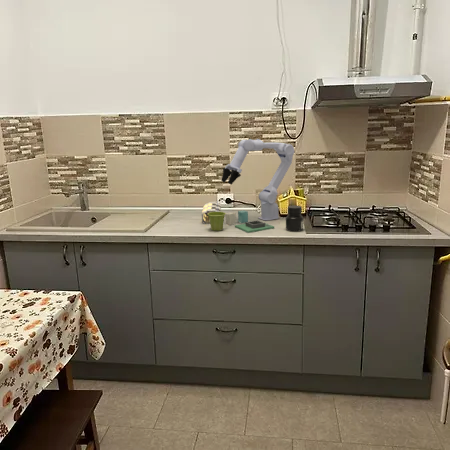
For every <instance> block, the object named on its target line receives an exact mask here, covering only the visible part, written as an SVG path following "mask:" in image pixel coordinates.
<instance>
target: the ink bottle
mask: <svg viewBox="0 0 450 450" xmlns="http://www.w3.org/2000/svg"><path fill="white" fill-rule="evenodd" d="M285 230H286V231H288V232H301V231H303V230H304V216H303V215H302V206H301V205H289V206H288V207H287V216H285Z"/></svg>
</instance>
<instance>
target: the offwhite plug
mask: <svg viewBox="0 0 450 450" xmlns="http://www.w3.org/2000/svg"><path fill="white" fill-rule="evenodd" d="M225 213H226V214H225V217H224V221H225V225H229V226H232V225H237V219H236V218H237V217H236V216H237V215H236V212H232V211H230V212H225Z"/></svg>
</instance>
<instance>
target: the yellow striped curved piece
mask: <svg viewBox="0 0 450 450" xmlns="http://www.w3.org/2000/svg"><path fill="white" fill-rule="evenodd" d="M201 212H202V213H201V222H202V223H203V225H205V223H206V219H207V216H208V213H210V212H222V204H221V203H219V200H218V199H217V201H209V202H208V203H205V204H204V205H203V208H202V211H201Z"/></svg>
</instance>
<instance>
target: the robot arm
mask: <svg viewBox="0 0 450 450" xmlns="http://www.w3.org/2000/svg"><path fill="white" fill-rule="evenodd" d="M237 146H238V147H237V150H236V152H235V153H234V155H233V157H232V160H231V161H230V163H227V164H226V165H225V166H224V167H223V168H222V177H221V179H220V180H221V181H220V182H223V183H226V181H227V184H230V185H232V184H233V183H235V181H237V180H238V179H239V178H240V177H241V176H242V175H241V173H242V172H243V168H242V169H241V167H242V165H243V163H244V161H245V159H246V157H247V155H248V153H249V152H251V151H253V152H254V151H255V152H257V151H263V150H264V149H271V150H272V149H273V150H274V151H276V153H277V156H278V158H279V159H280V163H279V165H278V167H277V169H276V171H275V173H273V174H274V175H273V177H272V178H271V180H270V181H269V183H268V185H267V186H265V187H264V188H263V189H262V191H260V192H259V194H258V199H259V201H260V214H261V215H260V216H258V218H257V219H259V220H263V221H265V222H266V221H272V220H278V219H280V217H279V206H278V205H279V204H278V203H277V202H276V201H277V197H278V194H279V193H278V189H279V187H280V185H281V183H282V181H283V180H284V178H285V176H286V174H287V172H288V170H289V168H290V167H291V166H292V164H293V163H292V162H293V157H294V154H295V148H294V146H293V144H291V143H284V142H274V141H271V142H264V141H263V140H262V139H260V138H256V139H251V138H249V139H241V140H240V141H238V145H237Z"/></svg>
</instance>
